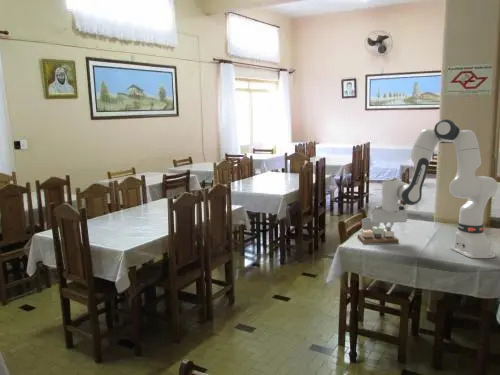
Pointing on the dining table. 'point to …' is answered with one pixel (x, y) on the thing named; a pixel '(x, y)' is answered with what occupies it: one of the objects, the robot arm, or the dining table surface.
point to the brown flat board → (377, 239)
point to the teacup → (368, 224)
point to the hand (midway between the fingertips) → (388, 229)
